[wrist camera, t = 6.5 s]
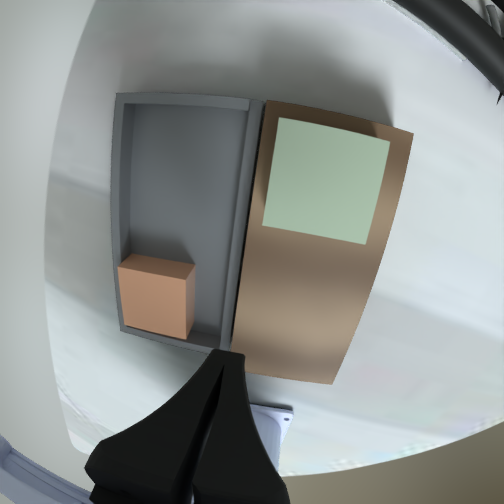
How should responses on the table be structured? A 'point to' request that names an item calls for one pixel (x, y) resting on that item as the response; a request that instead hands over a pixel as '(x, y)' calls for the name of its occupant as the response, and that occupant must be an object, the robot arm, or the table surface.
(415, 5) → the door handle
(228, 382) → the robot arm
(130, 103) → the charcoal tray
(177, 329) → the terracotta block
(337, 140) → the sage tile
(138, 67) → the table surface
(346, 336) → the walnut ledge
